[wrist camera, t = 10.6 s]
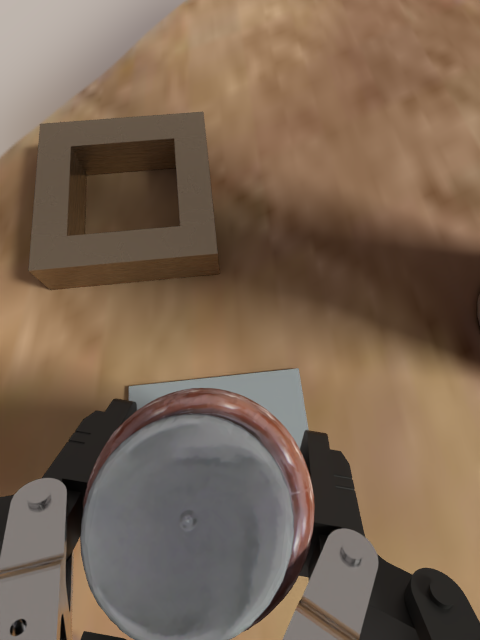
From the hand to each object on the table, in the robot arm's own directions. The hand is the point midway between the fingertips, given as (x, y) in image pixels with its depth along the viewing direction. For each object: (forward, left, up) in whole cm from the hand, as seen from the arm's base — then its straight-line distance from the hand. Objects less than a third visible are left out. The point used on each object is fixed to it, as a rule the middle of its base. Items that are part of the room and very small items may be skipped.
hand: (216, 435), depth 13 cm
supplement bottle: (+1, +2, -5) cm, 6 cm away
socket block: (+5, -18, -11) cm, 21 cm away
